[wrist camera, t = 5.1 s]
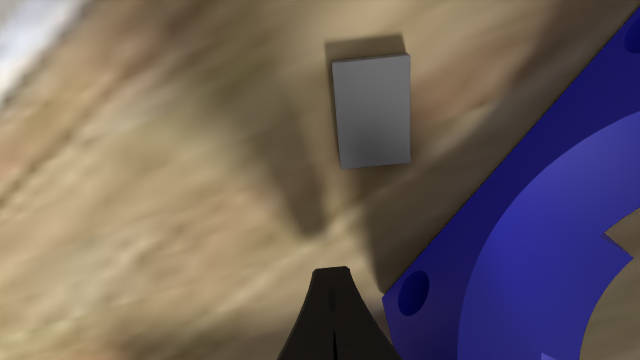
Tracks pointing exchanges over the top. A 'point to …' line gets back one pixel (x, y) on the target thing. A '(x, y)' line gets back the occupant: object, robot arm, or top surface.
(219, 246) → the top surface
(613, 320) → the top surface
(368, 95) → the grey block
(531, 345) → the cable clip
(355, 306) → the robot arm
